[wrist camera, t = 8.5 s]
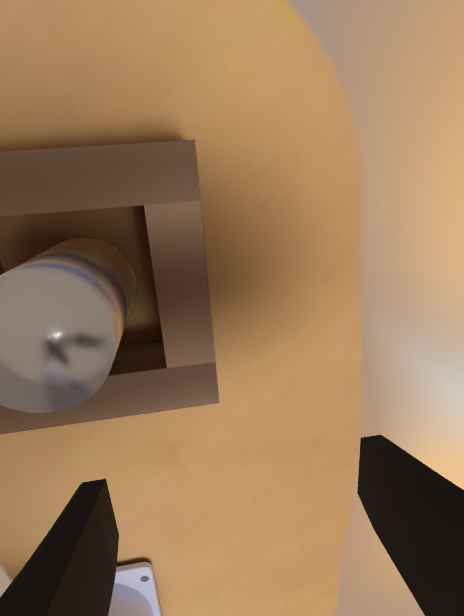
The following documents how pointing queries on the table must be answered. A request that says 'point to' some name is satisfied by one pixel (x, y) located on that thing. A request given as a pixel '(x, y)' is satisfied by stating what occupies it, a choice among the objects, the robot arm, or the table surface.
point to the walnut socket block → (165, 261)
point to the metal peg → (62, 324)
